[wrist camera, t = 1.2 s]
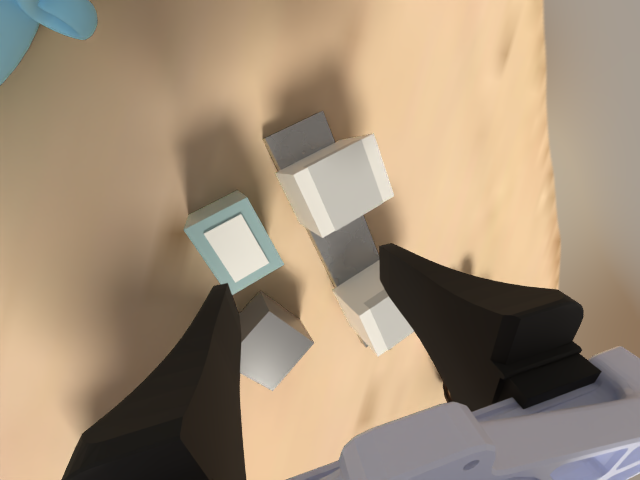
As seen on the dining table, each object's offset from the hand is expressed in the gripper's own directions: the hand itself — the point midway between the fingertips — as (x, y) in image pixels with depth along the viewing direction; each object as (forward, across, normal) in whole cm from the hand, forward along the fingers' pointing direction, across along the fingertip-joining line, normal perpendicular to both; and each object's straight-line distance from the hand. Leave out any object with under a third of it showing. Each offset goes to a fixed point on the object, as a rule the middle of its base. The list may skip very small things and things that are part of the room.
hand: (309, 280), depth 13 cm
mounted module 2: (+10, -6, +10) cm, 16 cm away
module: (+11, +4, +2) cm, 12 cm away
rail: (+11, -5, +6) cm, 13 cm away
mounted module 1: (+12, -3, 0) cm, 13 cm away
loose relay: (+9, +4, +11) cm, 14 cm away
